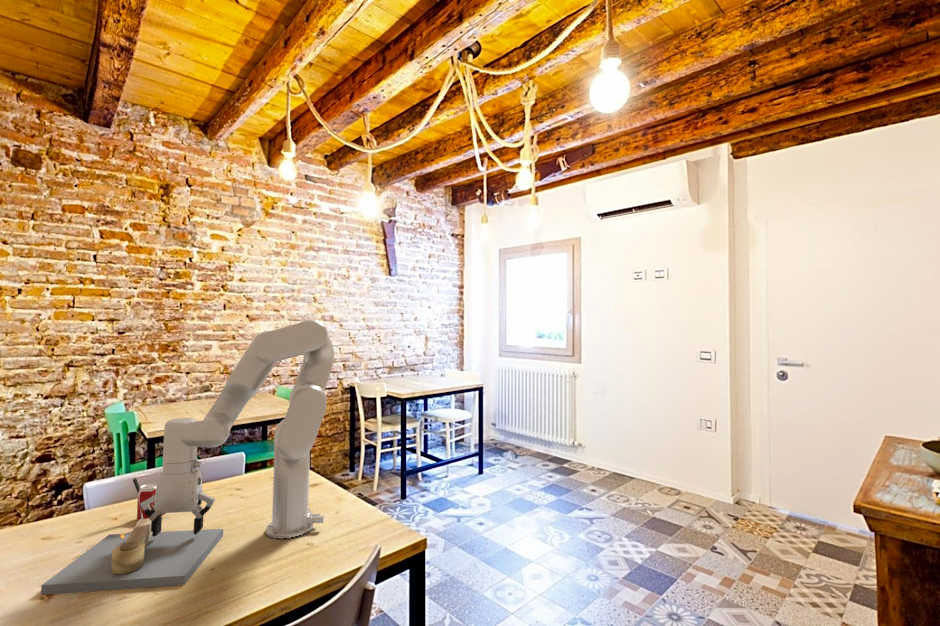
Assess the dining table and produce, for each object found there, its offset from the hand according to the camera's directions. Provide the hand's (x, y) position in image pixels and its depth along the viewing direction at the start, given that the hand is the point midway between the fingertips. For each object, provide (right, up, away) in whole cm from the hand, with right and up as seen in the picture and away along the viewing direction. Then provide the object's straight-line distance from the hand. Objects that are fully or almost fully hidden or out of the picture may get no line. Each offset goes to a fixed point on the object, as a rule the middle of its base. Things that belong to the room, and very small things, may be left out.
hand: (177, 533), depth 120 cm
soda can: (-14, -4, +10) cm, 18 cm away
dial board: (-3, -3, -8) cm, 9 cm away
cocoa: (-19, -4, +17) cm, 26 cm away
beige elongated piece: (-5, -1, -8) cm, 9 cm away
